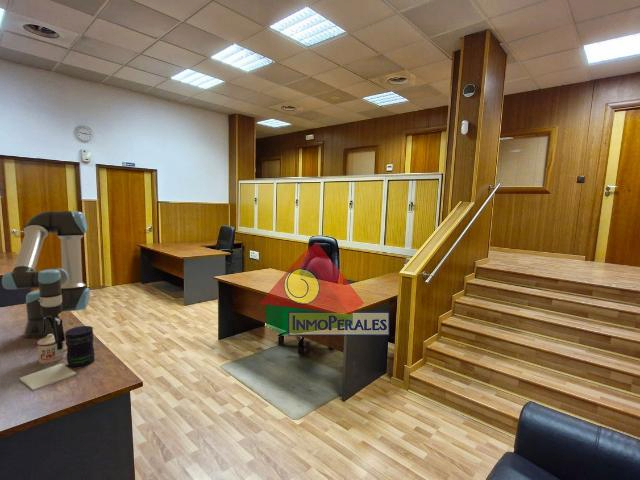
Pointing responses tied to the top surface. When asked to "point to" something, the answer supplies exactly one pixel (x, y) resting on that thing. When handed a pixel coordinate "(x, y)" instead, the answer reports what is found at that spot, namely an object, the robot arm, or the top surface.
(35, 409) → the top surface
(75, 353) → the dark blue canister
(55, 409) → the top surface
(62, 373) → the coaster
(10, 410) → the top surface
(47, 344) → the teacup with lid
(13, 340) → the top surface
